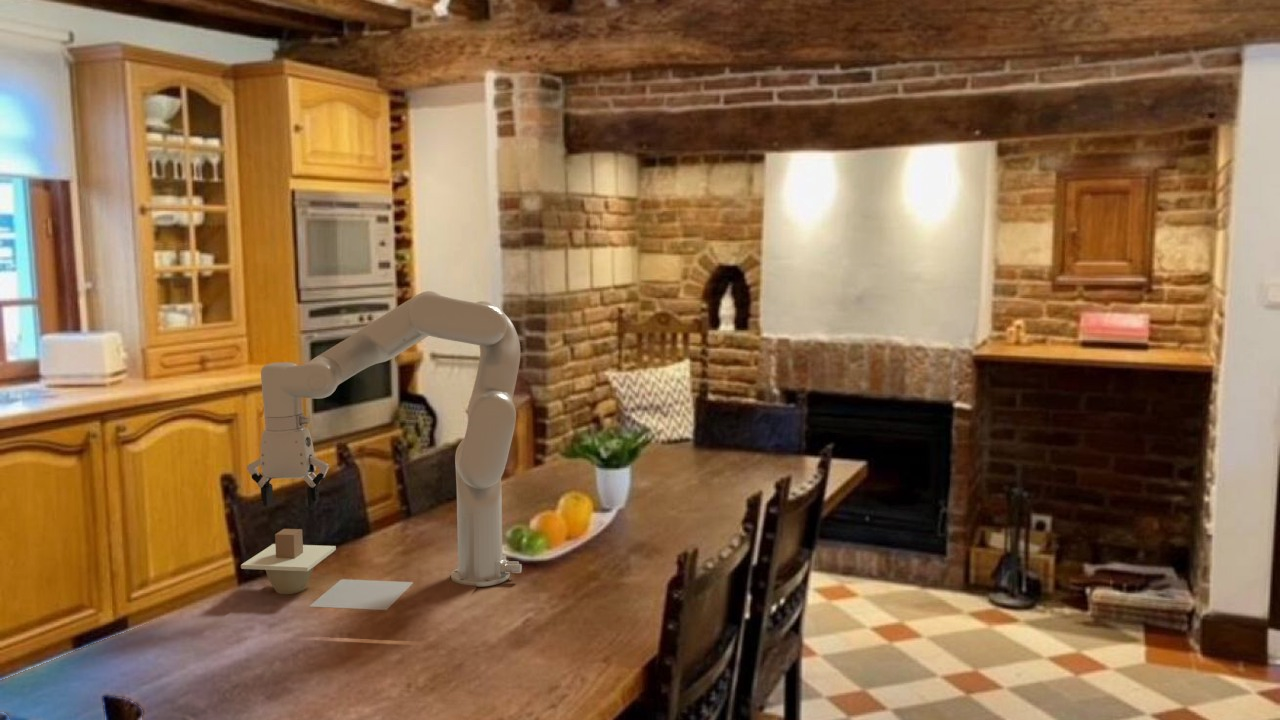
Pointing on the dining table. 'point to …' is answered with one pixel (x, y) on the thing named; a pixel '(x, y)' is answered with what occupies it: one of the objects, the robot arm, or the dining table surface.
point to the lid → (289, 553)
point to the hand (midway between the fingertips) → (290, 504)
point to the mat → (362, 594)
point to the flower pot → (289, 580)
